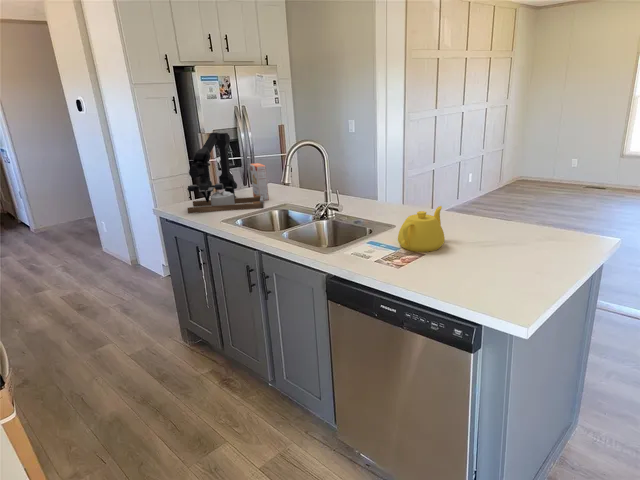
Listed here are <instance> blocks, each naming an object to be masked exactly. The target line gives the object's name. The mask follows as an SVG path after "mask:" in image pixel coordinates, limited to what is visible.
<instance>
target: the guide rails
mask: <svg viewBox="0 0 640 480" xmlns="http://www.w3.org/2000/svg"><path fill="white" fill-rule="evenodd" d="M234 201H235V204H233V205H219V206H212V205H211V199H209V202H208V203H207V201H206V199H205V200H193V201H192V206H191V207H187V213H188V214H194V213H195V214H198V213H211V212H224V211H225V212H227V211H228V212H229V211H239V210H241V211H242V210H256V209H264V204H265V201H264V197H263V195H261V196H254V197H249V196H248V197H239V198H238V197H236V198H234Z"/></svg>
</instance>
